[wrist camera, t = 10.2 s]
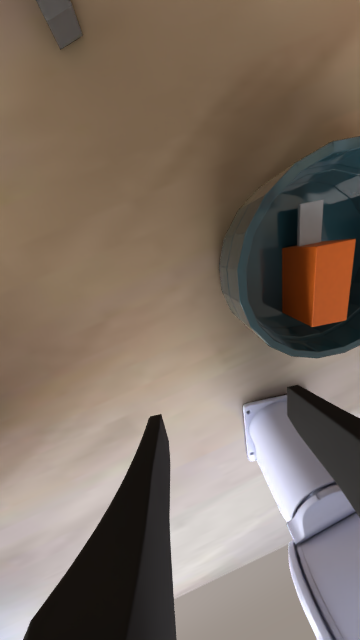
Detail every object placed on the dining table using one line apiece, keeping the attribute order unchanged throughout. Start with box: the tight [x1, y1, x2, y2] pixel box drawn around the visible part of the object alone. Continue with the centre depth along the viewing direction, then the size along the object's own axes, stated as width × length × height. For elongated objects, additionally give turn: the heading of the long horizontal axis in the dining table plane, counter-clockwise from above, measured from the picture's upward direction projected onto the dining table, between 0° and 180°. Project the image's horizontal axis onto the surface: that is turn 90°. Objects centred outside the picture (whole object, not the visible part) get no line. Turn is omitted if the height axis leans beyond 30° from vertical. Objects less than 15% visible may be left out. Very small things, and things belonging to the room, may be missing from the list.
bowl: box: [219, 136, 360, 358], centre depth 15 cm, size 14×14×5 cm
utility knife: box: [282, 200, 356, 327], centre depth 15 cm, size 9×3×4 cm, turn 10°
